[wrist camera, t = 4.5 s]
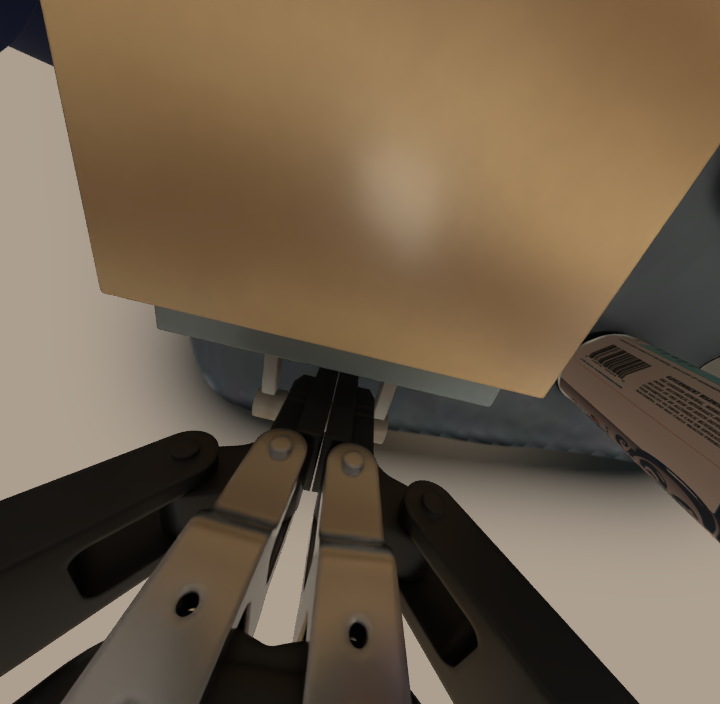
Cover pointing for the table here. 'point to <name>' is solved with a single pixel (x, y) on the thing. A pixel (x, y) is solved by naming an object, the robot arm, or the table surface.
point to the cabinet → (387, 164)
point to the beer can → (654, 416)
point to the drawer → (320, 356)
